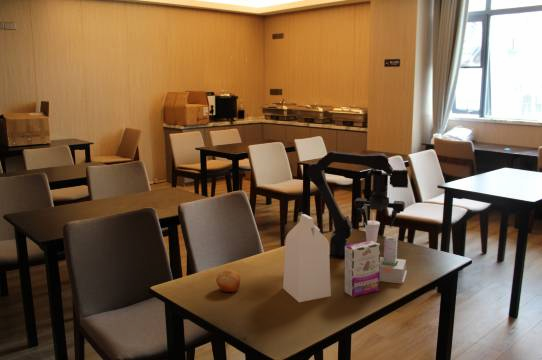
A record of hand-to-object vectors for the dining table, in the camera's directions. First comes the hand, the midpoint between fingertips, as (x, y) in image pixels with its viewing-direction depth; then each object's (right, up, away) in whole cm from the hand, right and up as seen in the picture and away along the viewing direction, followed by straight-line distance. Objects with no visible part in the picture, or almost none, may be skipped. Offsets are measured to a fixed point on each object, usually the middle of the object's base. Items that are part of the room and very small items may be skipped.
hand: (378, 226), depth 201 cm
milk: (-30, -20, -28) cm, 45 cm away
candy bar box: (-12, -19, -28) cm, 36 cm away
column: (+1, -12, -16) cm, 20 cm away
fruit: (-56, -19, -26) cm, 64 cm away
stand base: (+1, -16, -15) cm, 22 cm away
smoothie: (+1, -10, +19) cm, 21 cm away
